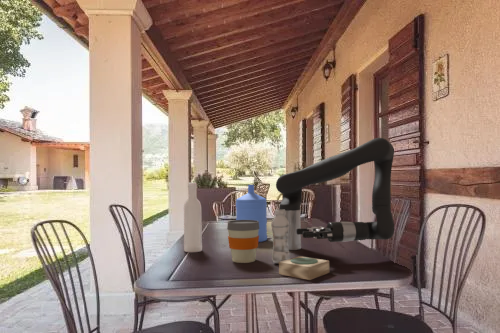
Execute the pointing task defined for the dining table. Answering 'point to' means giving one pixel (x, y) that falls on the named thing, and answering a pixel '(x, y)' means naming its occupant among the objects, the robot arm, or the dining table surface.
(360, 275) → the dining table surface
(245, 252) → the reusable coffee cup
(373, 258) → the dining table surface
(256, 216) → the water jug
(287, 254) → the plastic bottle
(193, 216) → the bottle
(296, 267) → the base block
